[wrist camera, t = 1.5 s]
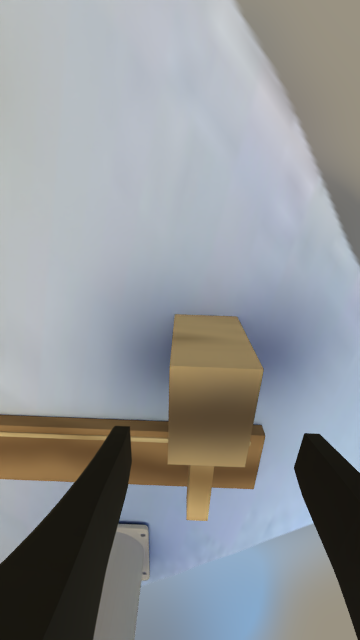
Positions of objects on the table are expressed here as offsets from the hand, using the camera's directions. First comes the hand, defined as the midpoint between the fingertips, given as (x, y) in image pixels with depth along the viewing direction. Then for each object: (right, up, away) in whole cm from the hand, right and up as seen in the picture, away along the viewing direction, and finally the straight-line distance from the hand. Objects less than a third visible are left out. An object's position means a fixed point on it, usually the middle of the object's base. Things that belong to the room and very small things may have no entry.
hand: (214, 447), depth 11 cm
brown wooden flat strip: (-9, -5, +10) cm, 15 cm away
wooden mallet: (0, 0, +8) cm, 8 cm away
